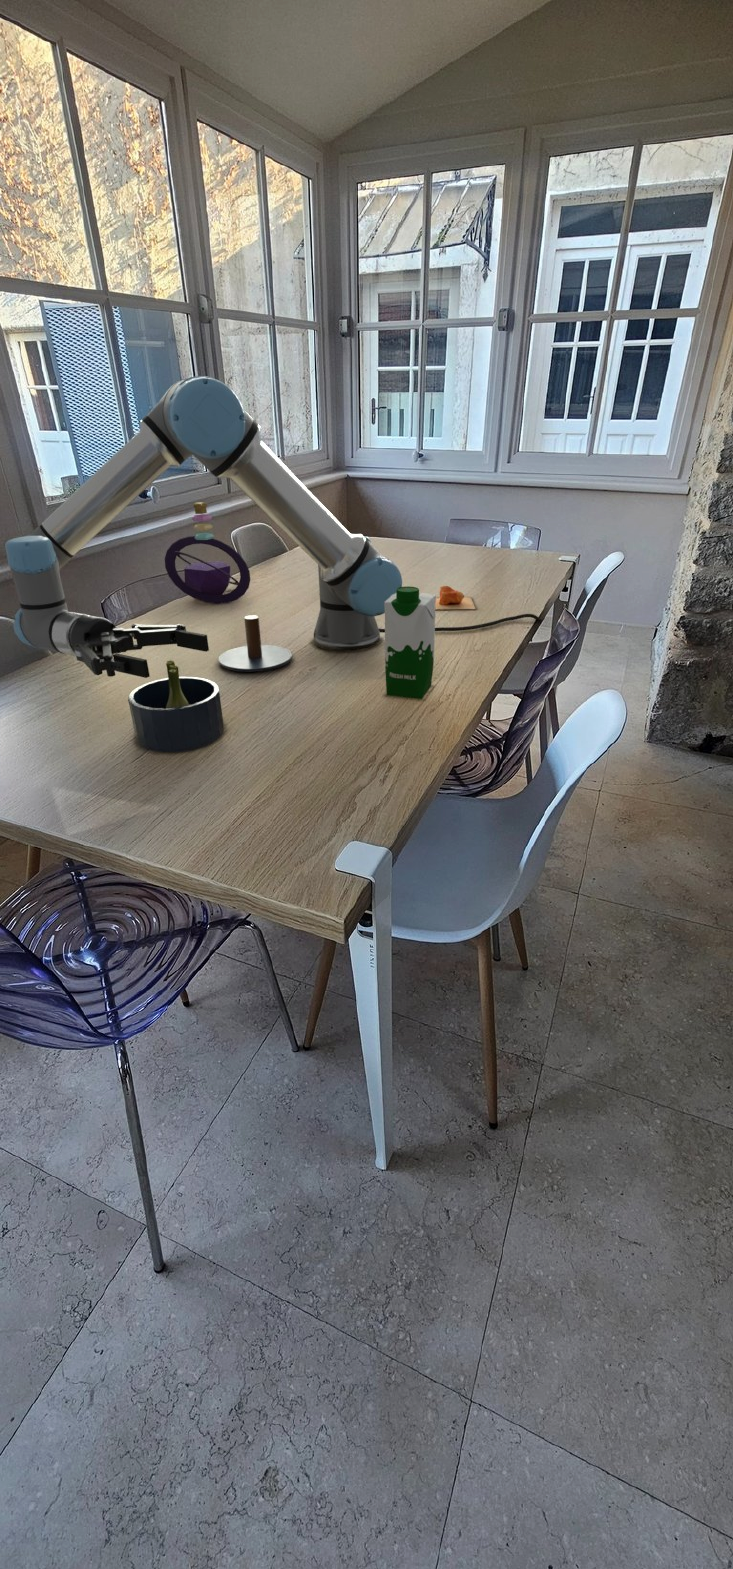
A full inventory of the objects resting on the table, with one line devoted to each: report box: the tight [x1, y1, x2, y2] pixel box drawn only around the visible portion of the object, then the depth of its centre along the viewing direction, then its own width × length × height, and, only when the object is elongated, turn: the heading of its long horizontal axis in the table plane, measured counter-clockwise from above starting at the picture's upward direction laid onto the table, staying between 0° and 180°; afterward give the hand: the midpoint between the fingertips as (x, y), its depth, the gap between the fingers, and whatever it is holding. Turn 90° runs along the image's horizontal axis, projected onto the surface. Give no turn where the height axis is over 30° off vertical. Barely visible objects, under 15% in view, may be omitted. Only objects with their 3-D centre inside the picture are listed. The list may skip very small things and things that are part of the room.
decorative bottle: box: [164, 501, 251, 605], centre depth 193 cm, size 22×21×25 cm
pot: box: [127, 676, 225, 754], centre depth 118 cm, size 15×15×8 cm
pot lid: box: [218, 614, 293, 673], centre depth 148 cm, size 16×16×10 cm
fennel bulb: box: [165, 660, 189, 708], centre depth 116 cm, size 6×5×12 cm
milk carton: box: [384, 586, 437, 700], centre depth 130 cm, size 9×9×20 cm
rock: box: [435, 585, 476, 611], centre depth 187 cm, size 12×12×4 cm
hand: (178, 655), depth 112 cm, fingers open, 13 cm apart
